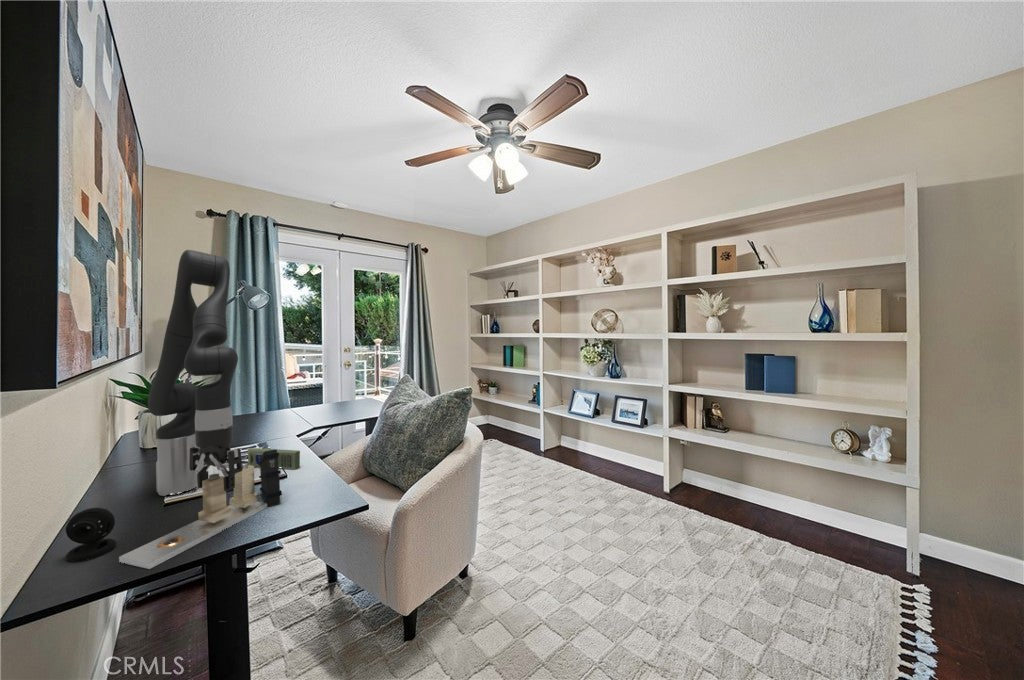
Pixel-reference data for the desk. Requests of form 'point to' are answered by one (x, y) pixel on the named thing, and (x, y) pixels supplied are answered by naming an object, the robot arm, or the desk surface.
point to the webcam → (90, 533)
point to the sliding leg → (214, 500)
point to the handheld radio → (285, 458)
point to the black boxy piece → (270, 477)
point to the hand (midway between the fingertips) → (216, 488)
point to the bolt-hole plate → (200, 526)
